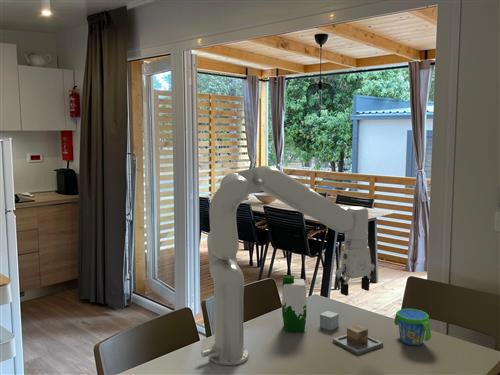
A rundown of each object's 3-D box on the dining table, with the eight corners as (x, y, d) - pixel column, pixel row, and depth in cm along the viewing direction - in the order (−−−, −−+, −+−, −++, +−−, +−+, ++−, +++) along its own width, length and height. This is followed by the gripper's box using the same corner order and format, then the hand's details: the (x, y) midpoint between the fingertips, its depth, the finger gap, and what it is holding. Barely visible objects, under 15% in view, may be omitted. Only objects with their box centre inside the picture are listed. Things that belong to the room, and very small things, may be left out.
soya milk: (281, 323, 186) (281, 273, 184) (305, 323, 186) (305, 273, 184) (282, 333, 177) (282, 280, 175) (307, 333, 177) (307, 280, 175)
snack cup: (439, 349, 163) (440, 320, 162) (412, 353, 160) (413, 324, 159) (410, 331, 178) (411, 304, 177) (385, 335, 175) (386, 307, 174)
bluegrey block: (331, 330, 179) (331, 317, 179) (319, 327, 183) (320, 314, 182) (338, 326, 183) (338, 313, 182) (327, 323, 186) (327, 310, 186)
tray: (357, 355, 159) (357, 351, 159) (332, 341, 169) (332, 338, 169) (383, 346, 166) (383, 342, 165) (357, 334, 176) (357, 330, 176)
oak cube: (357, 346, 164) (357, 332, 163) (346, 341, 168) (347, 327, 168) (367, 343, 167) (367, 329, 166) (357, 338, 171) (357, 324, 170)
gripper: (344, 248, 156) (343, 299, 158) (382, 242, 165) (381, 290, 167) (329, 244, 162) (328, 293, 164) (366, 238, 171) (365, 285, 173)
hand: (354, 292), depth 165 cm, fingers open, 9 cm apart
